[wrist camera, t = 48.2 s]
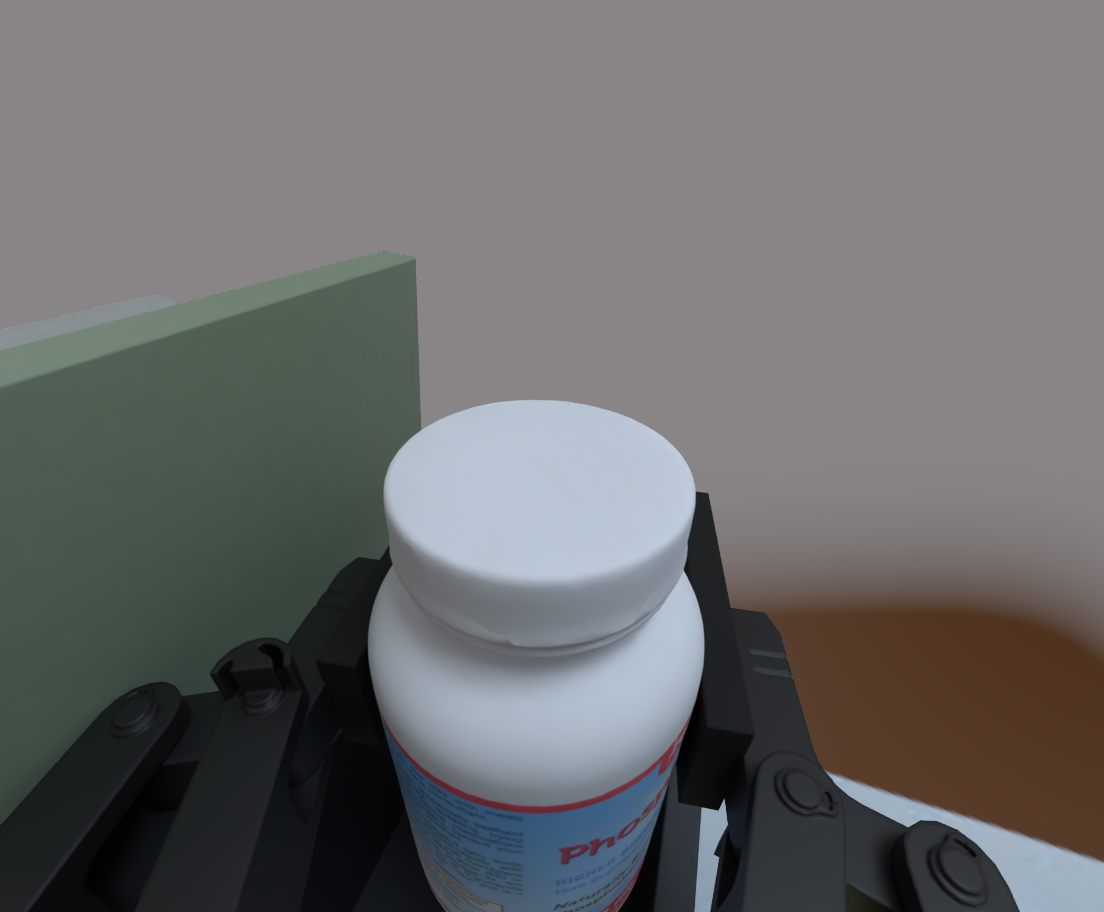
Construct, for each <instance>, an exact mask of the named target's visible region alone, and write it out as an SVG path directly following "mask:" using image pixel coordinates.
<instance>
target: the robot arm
mask: <svg viewBox="0 0 1104 912" xmlns="http://www.w3.org/2000/svg"><path fill="white" fill-rule="evenodd" d="M687 545H688V549H687V559H686V563H685V566H684V570H683V571H684V572H685V574H686V576H687V578H688V580H689V582H690V584H691V586H692V589H693V591H694V593H695V596H696V599H697V602H698V605H699V609H700V613H701V617H702V622H703V630H704V662H703V670H702V676H701V681H700V685H699V689H698V693H697V698H696V702H695V704H694V707H693V710H692V714H691V718H690V720H689V724H688V727H687V730H686V732H685V735H684V738H683V741H682V744H681V747H680V751H679V755H678V758H677V761H676V772H677V790H678V803H682V804H687V805H693V806H698V807H703V808H708V809H714V810H719V808H720V806H721V804H722V802H723V800H724V798H725V805H726V813H727V821H728V826H727V827H726V829H725V831H724V833H723V835H722V837H721V839H720V841H719V843H718V845H717V848H716V850H715V853H714V855H716V856H718V857H719V863H718V869H717V875H716V881H715V887H714V893H713V899H712V905H711V911H710V912H1020V911H1019V909H1018V907H1017V904H1016V902H1015V900H1014V898H1013V895H1012V893H1011V891H1010V889H1009V887H1008V885H1007V883H1006V882H1005V880H1004V878H1003V877H1002V875H1001V873H1000V872H999V870H998V868H997V866H996V865H995V864H994V863H993V861H992V860H991V859H990V858H989V857H988V856H987V855H986V854H985V853H984V852H983V850H982V849H981V848H980V847H979V846H978V845H977V844H976V843H974V842H973V841H972V840H970V839H969V838H968V837H966V836H965V835H963V834H962V833H961V832H959V831H958V830H957V829H954V828H952V827H950V826H947V825H945V824H942V823H940V822H938V821H923V820H920V821H919V822H917V823H915V824H913V825H912V826H910V827H909V828H908V827H906V826H904V825H902V824H900V823H898V822H896V821H894V820H892V819H890V818H888V817H886V816H884V815H882V814H880V813H878V812H876V811H874V810H872V809H870V808H868V807H866V806H864V805H863V804H861V803H859V802H858V801H856V800H854V799H853V798H851V797H850V796H848V795H847V794H846V793H845V792H844V791H842V790H841V789H840V788H839V787H838V786H837V785H836V784H835V783H834V782H833V780H832V779H831V778H830V777H829V776H828V774H827V773H826V772H825V771H824V770H823V768H822V766H821V765H820V764H819V762H818V760H817V757H816V755H815V752H814V750H813V746H812V743H811V740H810V736H809V733H808V729H807V726H806V722H805V719H804V715H803V712H802V708H801V705H800V701H799V698H798V694H797V691H796V687H795V684H794V680H793V679H792V677H791V675H792V674H791V670H790V667H789V663H788V660H786V652H785V649H784V646H783V642H782V639H781V635H780V633H779V631H778V630H777V629H776V627H775V626H774V625H773V623H772V622H771V620H770V619H769V618H768V616H767V615H766V614H765V613H762V612H755V611H748V610H741V609H734V608H730V603H729V598H728V593H727V587H726V582H725V577H724V572H723V567H722V562H721V557H720V551H719V546H718V541H717V536H716V531H715V526H714V521H713V515H712V511H711V505H710V500H709V495H708V493H702V492H696V502H695V510H694V515H693V520H692V525H691V530H690V534H689V538H688V541H687ZM392 565H393V563H392V560H391V557H390V547H389V546H388V548H387V549H386V551H385V552H384V554H383V555H382V557H381V559H380V560H377V559H370V558H363V557H357V558H356V559H355V560H353V561H352V562H351V563H349V564H348V565H347V566H345V567H344V568H343V569H341V570H340V571H339V572H338V574H337V575H336V577H335V578H334V579H333V581H332V582H331V583H330V585H329V586H328V588H327V591H326V592H324V593H323V595H322V596H321V597H320V599H319V600H318V601H317V605H316V606H314V607H313V608H312V610H311V611H310V613H309V614H308V615H307V617H306V618H305V619H304V621H303V622H302V624H301V625H300V626H299V628H298V629H297V630H296V632H295V633H294V635H293V636H292V637H291V639H290V640H289V642H288V643H285V642H283V641H281V640H279V639H277V638H265V637H263V638H259V639H255V640H250V641H247V642H245V643H243V644H241V645H239V646H237V647H235V648H233V649H232V650H231V651H229V652H228V653H227V654H226V655H225V656H223V657H222V658H221V659H220V660H219V661H218V662H217V664H216V665H215V666H214V668H213V669H212V671H211V672H210V673H209V674H210V676H211V677H212V679H213V681H214V683H215V684H216V686H217V688H218V689H219V691H214V692H207V693H200V694H194V695H187V696H182V695H181V693H180V692H179V690H178V689H177V687H176V686H175V685H172V684H169V683H167V682H155V683H148V684H145V685H143V686H140V687H137V688H134V689H132V690H130V691H129V692H127V693H125V694H124V695H122V696H120V697H119V698H117V699H116V700H114V701H113V702H112V703H111V704H110V705H109V706H108V707H107V708H106V709H104V710H103V711H102V712H101V713H100V714H99V715H98V717H97V718H96V719H95V720H94V721H93V722H92V723H91V724H90V726H89V727H88V728H87V729H86V730H85V731H84V732H83V733H82V735H81V736H80V737H79V738H78V739H77V740H76V741H75V742H74V744H73V745H72V746H71V747H70V748H69V749H68V750H67V751H66V752H65V754H64V755H63V756H62V757H61V758H60V759H59V760H58V761H57V763H56V764H55V765H54V766H53V767H52V768H51V769H50V770H49V772H48V773H47V774H46V775H45V776H44V777H43V778H42V779H41V781H40V782H39V783H38V784H37V785H36V786H35V787H34V788H33V789H32V791H31V792H30V793H29V794H28V795H27V796H26V797H25V798H24V800H23V801H22V802H21V803H20V804H19V805H18V806H17V807H16V809H15V810H14V811H13V812H12V813H11V814H10V815H9V816H8V818H7V819H6V820H5V821H4V822H3V823H2V824H1V825H0V912H300V910H301V905H302V900H303V896H304V891H305V886H306V882H307V877H308V872H309V868H310V863H311V858H312V854H313V849H314V844H315V840H316V835H317V830H318V826H319V821H320V816H321V812H322V807H323V802H324V798H325V793H326V788H327V784H328V779H329V774H330V770H331V765H332V748H331V743H332V741H333V739H334V737H335V735H336V733H337V732H338V730H339V728H340V726H341V729H342V731H343V734H344V737H345V739H346V740H348V741H353V742H359V743H364V744H369V745H375V746H380V745H381V743H382V741H383V739H384V736H385V731H384V727H383V723H382V719H381V716H380V712H379V708H378V704H377V700H376V697H375V693H374V688H373V683H372V677H371V673H370V666H369V658H368V632H369V624H370V618H371V614H372V609H373V605H374V602H375V599H376V596H377V594H378V591H379V589H380V587H381V584H382V582H383V580H384V578H385V577H386V575H387V573H388V571H389V570H390V568H391V567H392Z"/></svg>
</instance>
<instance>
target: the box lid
mask: <svg viewBox="0 0 1104 912" xmlns="http://www.w3.org/2000/svg"><path fill="white" fill-rule="evenodd" d="M418 352H419V351H418V323H417V291H416V260H415V258H413V257H409V256H405V255H400V254H395V253H391V252H387V251H382V252H378V253H374V254H370V255H366V256H363V257H359V258H355V259H351V260H347V261H343V262H339V263H336V264H332V265H328V266H324V267H320V268H316V269H313V270H309V271H305V272H301V273H297V274H293V275H289V276H285V277H282V278H278V279H274V280H270V281H266V282H262V283H258V284H255V285H251V286H247V287H243V288H239V289H235V290H231V291H228V292H224V293H220V294H216V295H212V296H208V297H205V298H201V299H197V300H193V301H189V302H185V303H181V304H176V303H175V302H174V301H172V300H171V299H169V298H167V297H165V296H161V295H156V294H152V295H147V296H143V297H139V298H134V299H130V300H126V301H121V302H117V303H113V304H109V305H104V306H100V307H95V308H91V309H87V310H82V311H78V312H74V313H69V314H65V315H61V316H57V317H52V318H48V319H44V320H39V321H35V322H31V323H26V324H22V325H18V326H13V327H9V328H5V329H0V825H1V824H2V823H3V822H4V821H5V820H6V819H7V818H8V816H9V815H10V814H11V813H12V812H13V811H14V810H15V809H16V807H17V806H18V805H19V804H20V803H21V802H22V801H23V800H24V798H25V797H26V796H27V795H28V794H29V793H30V792H31V791H32V789H33V788H34V787H35V786H36V785H37V784H38V783H39V782H40V781H41V779H42V778H43V777H44V776H45V775H46V774H47V773H48V772H49V770H50V769H51V768H52V767H53V766H54V765H55V764H56V763H57V761H58V760H59V759H60V758H61V757H62V756H63V755H64V754H65V752H66V751H67V750H68V749H69V748H70V747H71V746H72V745H73V744H74V742H75V741H76V740H77V739H78V738H79V737H80V736H81V735H82V733H83V732H84V731H85V730H86V729H87V728H88V727H89V726H90V724H91V723H92V722H93V721H94V720H95V719H96V718H97V717H98V715H99V714H100V713H101V712H102V711H103V710H104V709H106V708H107V707H108V706H109V705H110V704H111V703H112V702H113V701H114V700H116V699H117V698H119V697H120V696H122V695H124V694H125V693H127V692H129V691H130V690H132V689H134V688H137V687H140V686H143V685H145V684H148V683H155V682H167V683H169V684H172V685H175V686H176V687H177V689H178V690H179V692H180V693H181V695H182V696H187V695H194V694H200V693H207V692H214V691H219V689H218V688H217V686H216V684H215V683H214V681H213V679H212V677H211V676H210V674H209V673H210V672H211V671H212V669H213V668H214V666H215V665H216V664H217V662H218V661H219V660H220V659H221V658H222V657H223V656H225V655H226V654H227V653H228V652H229V651H231V650H232V649H233V648H235V647H237V646H239V645H241V644H243V643H245V642H247V641H250V640H255V639H259V638H263V637H265V638H277V639H279V640H281V641H283V642H285V643H288V642H289V640H290V639H291V637H292V636H293V635H294V633H295V632H296V630H297V629H298V628H299V626H300V625H301V624H302V622H303V621H304V619H305V618H306V617H307V615H308V614H309V613H310V611H311V610H312V608H313V607H314V606H316V605H317V601H318V600H319V599H320V597H321V596H322V595H323V593H324V592H326V591H327V588H328V586H329V585H330V583H331V582H332V581H333V579H334V578H335V577H336V575H337V574H338V572H339V571H340V570H341V569H343V568H344V567H345V566H347V565H348V564H349V563H351V562H352V561H353V560H355V559H356V558H357V557H363V558H370V559H377V560H380V559H381V557H382V555H383V554H384V552H385V551H386V549H387V548H388V546H389V532H388V527H387V521H386V516H385V510H384V499H383V489H384V481H385V477H386V474H387V471H388V468H389V465H390V463H391V462H392V460H393V458H394V457H395V455H396V454H397V452H398V451H399V450H400V449H401V448H402V447H403V445H404V444H405V443H406V442H407V441H408V440H409V439H410V438H412V437H413V436H414V435H415V434H417V433H418V432H419V431H421V413H420V383H419V353H418Z"/></svg>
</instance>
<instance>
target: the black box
mask: <svg viewBox="0 0 1104 912" xmlns="http://www.w3.org/2000/svg"><path fill="white" fill-rule="evenodd" d="M331 748H332V765H331V770H330V774H329V779H328V784H327V788H326V793H325V798H324V802H323V807H322V812H321V816H320V821H319V826H318V830H317V835H316V840H315V844H314V849H313V854H312V858H311V863H310V868H309V872H308V877H307V882H306V886H305V891H304V896H303V900H302V905H301V910H300V912H446V911H445V910H444V908H443V907H442V905H441V904H440V903H439V901H438V900H437V898H436V896H435V894H434V893H433V891H432V889H431V887H430V884H429V882H428V880H427V877H426V875H425V872H424V870H423V867H422V864H421V861H420V858H419V854H418V850H417V847H416V843H415V839H414V836H413V832H412V829H411V825H410V821H409V817H408V814H407V811H406V807H405V803H404V799H403V796H402V792H401V788H400V785H399V781H398V777H397V773H396V769H395V766H394V762H393V759H392V756H391V752H390V749H389V745H388V742H387V738H386V735H385V736H384V739H383V741H382V743H381V745H380V746H375V745H369V744H364V743H359V742H353V741H348V740H346V739H345V737H344V734H343V731H342V729H341V726H340V728H339V730H338V732H337V733H336V735H335V737H334V739H333V741H332V743H331ZM700 822H701V807H698V806H693V805H687V804H682V803H678V790H677V772H676V763H675V766H674V769H673V772H672V775H671V778H670V781H669V784H668V787H667V790H666V793H665V796H664V799H663V802H662V805H661V808H660V811H659V814H658V817H657V821H656V824H655V826H654V829H653V832H652V836H651V839H650V842H649V846H648V849H647V852H646V855H645V858H644V861H643V864H642V866H641V869H640V871H639V874H638V877H637V879H636V882H635V884H634V886H633V888H632V890H631V892H630V893H629V895H628V897H627V899H626V900H625V902H624V903H623V905H622V906H621V908H620V909H619V911H618V912H694V909H695V894H696V880H697V865H698V851H699V836H700Z"/></svg>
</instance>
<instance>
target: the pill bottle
mask: <svg viewBox="0 0 1104 912" xmlns="http://www.w3.org/2000/svg"><path fill="white" fill-rule="evenodd" d="M383 499H384V510H385V516H386V521H387V527H388V532H389V547H390V557H391V560H392V563H393V565H392V567H391V568H390V570H389V571H388V573H387V575H386V577H385V578H384V580H383V582H382V584H381V587H380V589H379V591H378V594H377V596H376V599H375V602H374V605H373V609H372V614H371V618H370V624H369V632H368V658H369V666H370V673H371V677H372V683H373V688H374V693H375V697H376V700H377V704H378V708H379V712H380V716H381V719H382V723H383V727H384V731H385V735H386V738H387V742H388V745H389V749H390V752H391V756H392V759H393V762H394V766H395V769H396V773H397V777H398V781H399V785H400V788H401V792H402V796H403V799H404V803H405V807H406V811H407V814H408V817H409V821H410V825H411V829H412V832H413V836H414V839H415V843H416V847H417V850H418V854H419V858H420V861H421V864H422V867H423V870H424V872H425V875H426V877H427V880H428V882H429V884H430V887H431V889H432V891H433V893H434V894H435V896H436V898H437V900H438V901H439V903H440V904H441V905H442V907H443V908H444V910H445V911H446V912H618V911H619V909H620V908H621V906H622V905H623V903H624V902H625V900H626V899H627V897H628V895H629V893H630V892H631V890H632V888H633V886H634V884H635V882H636V879H637V877H638V874H639V871H640V869H641V866H642V864H643V861H644V858H645V855H646V852H647V849H648V846H649V842H650V839H651V836H652V832H653V829H654V826H655V824H656V821H657V817H658V814H659V811H660V808H661V805H662V802H663V799H664V796H665V793H666V790H667V787H668V784H669V781H670V778H671V775H672V772H673V769H674V766H675V763H676V761H677V758H678V755H679V751H680V747H681V744H682V741H683V738H684V735H685V732H686V730H687V727H688V724H689V720H690V718H691V714H692V710H693V707H694V704H695V702H696V698H697V693H698V689H699V685H700V681H701V676H702V670H703V662H704V630H703V622H702V617H701V613H700V609H699V605H698V602H697V599H696V596H695V593H694V591H693V589H692V586H691V584H690V582H689V580H688V578H687V576H686V574H685V572H684V571H683V570H684V566H685V563H686V559H687V549H688V545H687V541H688V538H689V534H690V530H691V525H692V520H693V515H694V510H695V502H696V491H695V485H694V480H693V477H692V474H691V471H690V469H689V467H688V465H687V463H686V462H685V460H684V459H683V457H682V456H681V455H680V453H679V452H678V451H677V450H676V448H675V447H674V446H672V444H671V443H669V442H668V441H667V440H666V439H665V438H663V437H662V436H661V435H659V434H658V433H656V432H655V431H653V430H652V429H650V428H648V427H647V426H645V425H643V424H641V423H639V422H637V421H635V420H633V419H631V418H628V417H626V416H623V415H621V414H618V413H615V412H612V411H608V410H604V409H601V408H597V407H593V406H590V405H583V404H577V403H571V402H566V401H550V400H518V401H506V402H498V403H492V404H486V405H481V406H477V407H473V408H470V409H467V410H463V411H460V412H457V413H455V414H452V415H450V416H447V417H445V418H442V419H440V420H438V421H436V422H434V423H433V424H431V425H429V426H427V427H426V428H424V429H422V430H421V431H419V432H418V433H417V434H415V435H414V436H413V437H412V438H410V439H409V440H408V441H407V442H406V443H405V444H404V445H403V447H402V448H401V449H400V450H399V451H398V452H397V454H396V455H395V457H394V458H393V460H392V462H391V463H390V465H389V468H388V471H387V474H386V477H385V481H384V489H383Z"/></svg>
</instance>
